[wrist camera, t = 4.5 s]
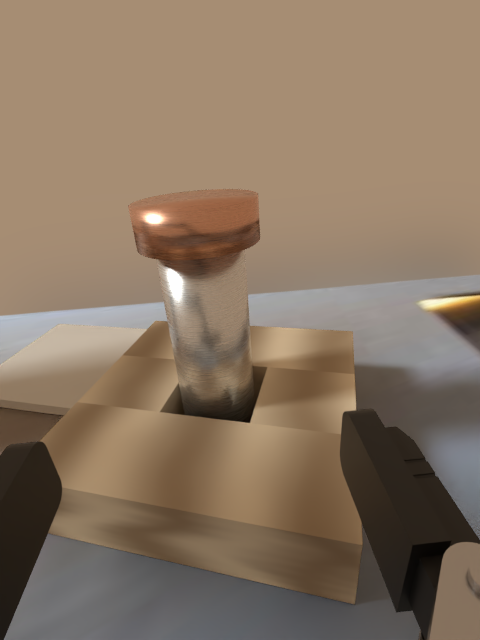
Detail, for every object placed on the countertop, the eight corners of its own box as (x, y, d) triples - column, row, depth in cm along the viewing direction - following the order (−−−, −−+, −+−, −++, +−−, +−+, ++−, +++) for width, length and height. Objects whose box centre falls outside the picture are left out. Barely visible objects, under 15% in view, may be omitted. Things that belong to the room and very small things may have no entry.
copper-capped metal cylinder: (162, 467, 22) (101, 213, 15) (196, 402, 27) (162, 191, 20) (259, 483, 20) (240, 210, 14) (276, 411, 26) (268, 187, 19)
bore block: (33, 529, 19) (5, 476, 17) (163, 360, 33) (155, 320, 31) (354, 604, 15) (362, 545, 13) (349, 375, 29) (352, 331, 27)
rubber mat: (-38, 401, 29) (-43, 394, 29) (61, 330, 40) (59, 323, 39) (91, 419, 26) (88, 410, 26) (162, 337, 37) (160, 330, 36)
